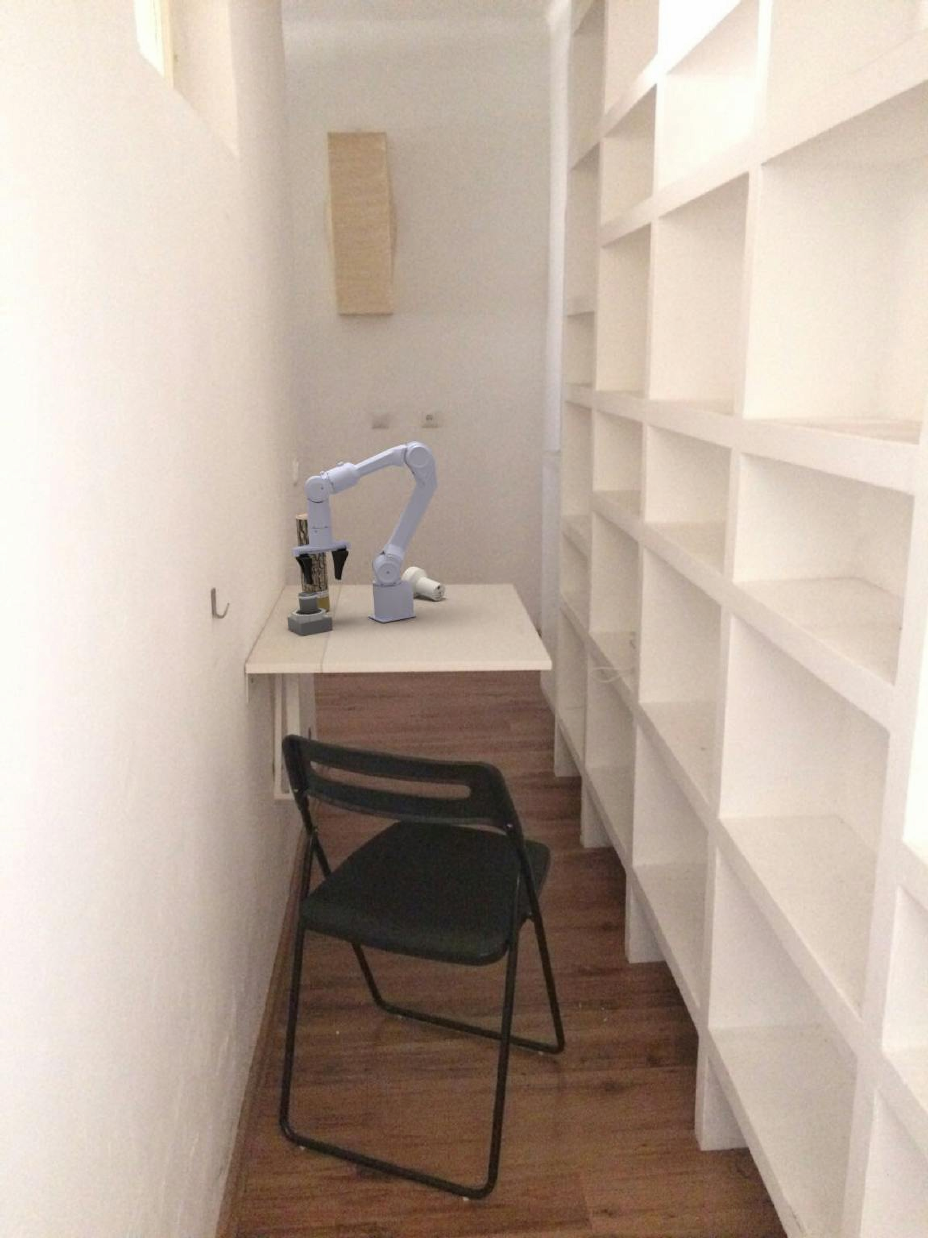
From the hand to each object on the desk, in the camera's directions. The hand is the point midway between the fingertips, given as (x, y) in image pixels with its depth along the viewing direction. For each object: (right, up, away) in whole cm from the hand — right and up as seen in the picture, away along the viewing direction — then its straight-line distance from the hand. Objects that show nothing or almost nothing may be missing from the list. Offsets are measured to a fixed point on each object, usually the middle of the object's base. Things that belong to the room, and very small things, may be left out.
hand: (324, 581), depth 236 cm
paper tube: (-4, -7, +15) cm, 17 cm away
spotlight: (+23, -4, +24) cm, 34 cm away
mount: (-3, -12, -3) cm, 12 cm away
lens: (-3, -9, -4) cm, 10 cm away
